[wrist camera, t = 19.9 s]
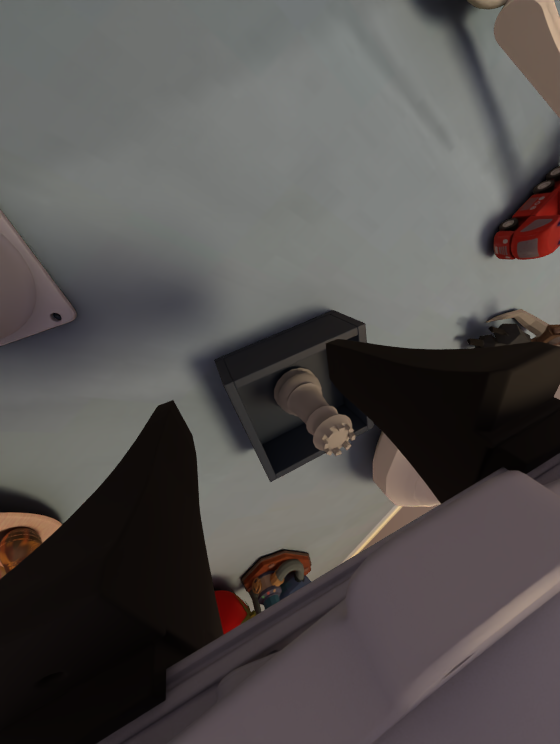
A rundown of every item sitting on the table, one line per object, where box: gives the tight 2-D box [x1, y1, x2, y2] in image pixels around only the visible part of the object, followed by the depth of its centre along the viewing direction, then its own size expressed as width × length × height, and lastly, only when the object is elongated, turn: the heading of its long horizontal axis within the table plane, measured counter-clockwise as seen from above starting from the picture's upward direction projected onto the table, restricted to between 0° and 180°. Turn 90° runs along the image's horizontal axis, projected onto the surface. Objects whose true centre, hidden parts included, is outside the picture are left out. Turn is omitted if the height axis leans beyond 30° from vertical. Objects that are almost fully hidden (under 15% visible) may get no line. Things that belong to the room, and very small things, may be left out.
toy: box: [467, 309, 560, 348], centre depth 31 cm, size 10×8×15 cm
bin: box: [215, 310, 373, 482], centre depth 23 cm, size 11×11×4 cm
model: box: [241, 550, 311, 615], centre depth 36 cm, size 12×9×9 cm
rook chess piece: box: [274, 368, 356, 456], centre depth 21 cm, size 4×4×8 cm
